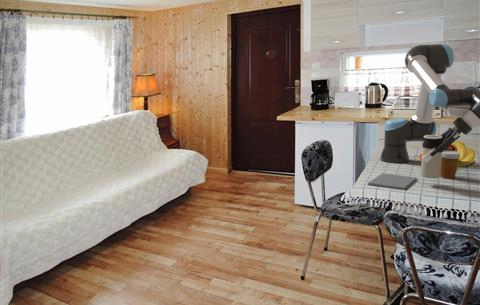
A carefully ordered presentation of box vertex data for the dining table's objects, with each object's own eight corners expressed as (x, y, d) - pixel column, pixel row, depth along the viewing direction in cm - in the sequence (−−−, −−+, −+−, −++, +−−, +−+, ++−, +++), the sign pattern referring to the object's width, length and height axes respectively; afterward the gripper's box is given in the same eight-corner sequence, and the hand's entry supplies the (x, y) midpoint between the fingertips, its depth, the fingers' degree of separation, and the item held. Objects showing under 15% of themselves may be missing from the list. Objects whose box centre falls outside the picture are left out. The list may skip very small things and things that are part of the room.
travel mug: (443, 178, 183) (446, 137, 179) (424, 178, 183) (427, 138, 179) (435, 173, 191) (438, 134, 187) (417, 174, 191) (420, 135, 187)
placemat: (382, 175, 206) (382, 173, 206) (416, 179, 197) (416, 177, 197) (367, 184, 190) (368, 182, 190) (404, 190, 181) (404, 187, 181)
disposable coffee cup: (445, 180, 194) (447, 155, 192) (432, 175, 203) (433, 151, 201) (463, 178, 196) (465, 153, 194) (449, 173, 205) (451, 149, 203)
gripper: (478, 132, 168) (432, 169, 176) (467, 125, 188) (426, 158, 196) (465, 119, 169) (419, 157, 177) (455, 113, 188) (414, 147, 196)
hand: (423, 158), depth 186 cm, fingers closed on travel mug, 8 cm apart
